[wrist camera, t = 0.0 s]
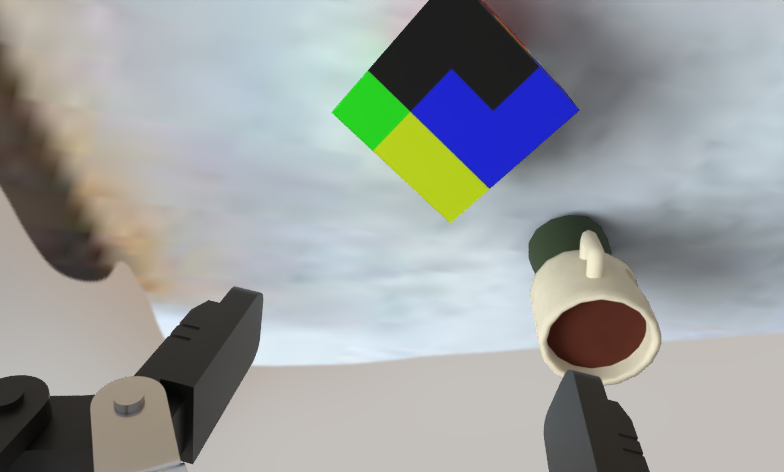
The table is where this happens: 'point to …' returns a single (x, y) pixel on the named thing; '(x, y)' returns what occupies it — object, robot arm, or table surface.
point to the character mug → (588, 304)
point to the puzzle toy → (455, 104)
